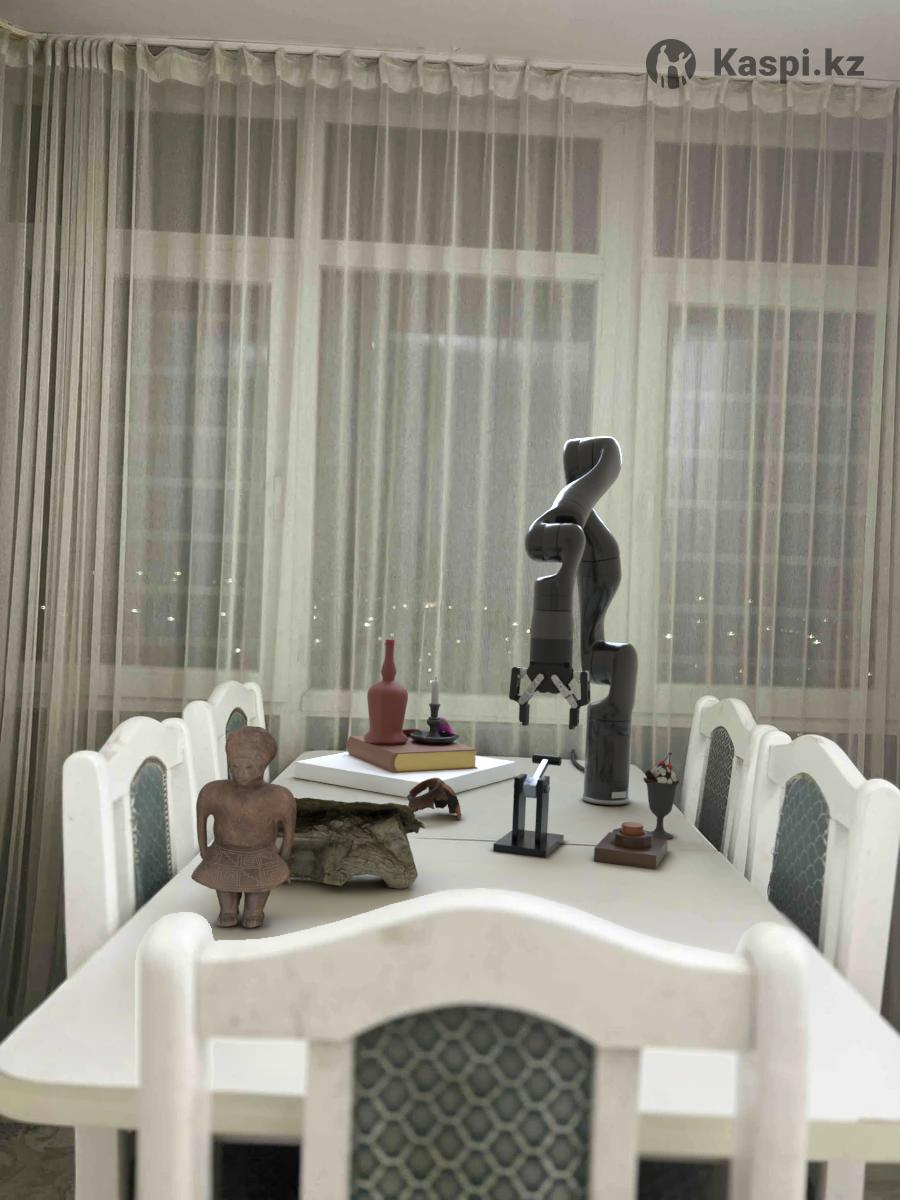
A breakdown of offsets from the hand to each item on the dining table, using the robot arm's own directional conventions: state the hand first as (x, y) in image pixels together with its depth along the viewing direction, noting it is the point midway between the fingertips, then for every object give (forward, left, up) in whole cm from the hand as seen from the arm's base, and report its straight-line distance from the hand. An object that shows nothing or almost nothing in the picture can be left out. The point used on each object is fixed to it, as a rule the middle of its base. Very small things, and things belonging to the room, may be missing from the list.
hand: (548, 727), depth 186 cm
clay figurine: (+65, -22, -19) cm, 71 cm away
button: (+7, +17, -16) cm, 24 cm away
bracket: (+9, 0, -19) cm, 21 cm away
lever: (+4, 0, -9) cm, 10 cm away
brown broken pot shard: (-4, -22, -19) cm, 30 cm away
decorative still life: (-39, -41, -19) cm, 60 cm away
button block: (+7, +17, -19) cm, 27 cm away
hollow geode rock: (+43, -21, -19) cm, 52 cm away
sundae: (-10, +19, -19) cm, 29 cm away
